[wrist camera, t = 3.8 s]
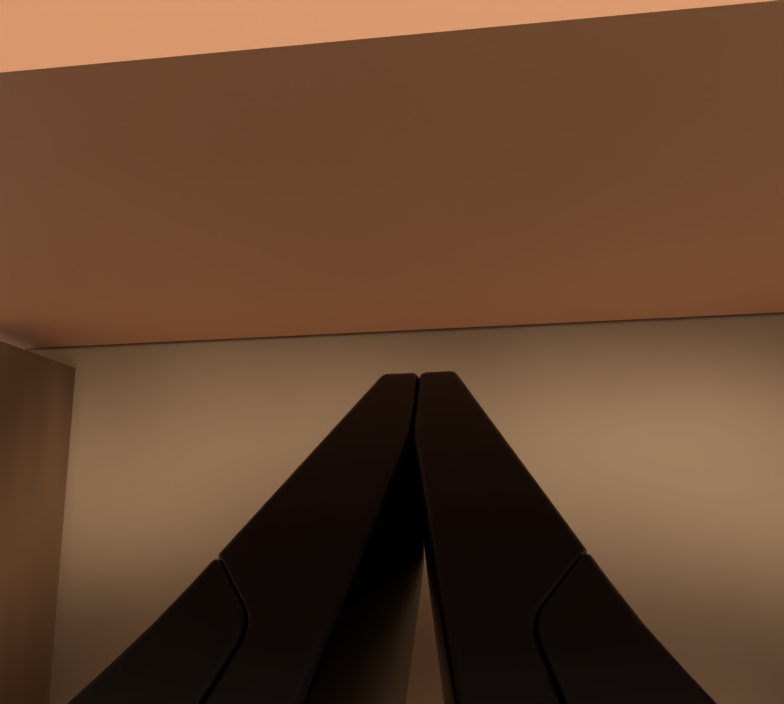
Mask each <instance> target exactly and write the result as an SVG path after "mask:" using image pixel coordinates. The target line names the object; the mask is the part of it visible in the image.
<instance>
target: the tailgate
mask: <svg viewBox="0 0 784 704" xmlns="http://www.w3.org/2000/svg"><path fill="white" fill-rule="evenodd" d="M779 312H784V0H0V341H2V342H5V343H8V344H10V345H13V346H16V347H19V348H21V349H25V348H46V347H67V346H88V345H109V344H130V343H151V342H172V341H193V340H213V339H234V338H255V337H276V336H297V335H318V334H339V333H360V332H381V331H402V330H423V329H444V328H465V327H486V326H507V325H528V324H549V323H570V322H590V321H611V320H632V319H653V318H674V317H695V316H716V315H737V314H758V313H779Z"/></svg>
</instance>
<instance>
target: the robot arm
mask: <svg viewBox="0 0 784 704" xmlns="http://www.w3.org/2000/svg"><path fill="white" fill-rule="evenodd" d="M424 554H425V558H426V567H427V577H428V585H429V593H430V600H431V608H432V616H433V623H434V631H435V639H436V646H437V654H438V662H439V669H440V677H441V685H442V692H443V700H444V704H717V703H716V702H715V701H714V699H713V698H712V697H711V696H710V695H709V694H708V693H707V692H706V691H705V690H704V689H703V688H702V687H701V686H700V685H699V684H698V683H697V682H696V680H695V679H694V678H693V677H692V676H691V675H690V674H689V673H688V672H687V671H686V670H685V669H684V668H683V666H682V665H681V664H680V663H679V662H678V661H677V660H676V659H675V658H674V656H673V655H672V654H671V653H670V652H669V651H668V650H667V649H666V648H665V646H664V645H663V644H662V643H661V642H660V641H659V640H658V639H657V638H656V636H655V635H654V634H653V633H652V632H651V631H650V630H649V629H648V628H647V627H646V625H645V624H644V623H643V622H642V620H641V619H640V618H639V617H638V615H637V614H636V613H635V612H634V610H633V609H632V608H631V607H630V605H629V604H628V603H627V602H626V600H625V599H624V598H623V597H622V595H621V594H620V593H619V591H618V590H617V589H616V588H615V586H614V585H613V584H612V583H611V581H610V580H609V579H608V577H607V576H606V574H605V573H604V572H603V570H602V569H601V568H600V566H599V565H598V564H597V562H596V561H595V560H594V558H593V557H592V556H591V555H590V554H587V550H586V548H585V547H584V545H583V544H582V543H581V541H580V540H579V538H578V537H577V536H576V534H575V533H574V532H573V530H572V529H571V528H570V526H569V525H568V524H567V522H566V521H565V519H564V518H563V517H562V515H561V514H560V513H559V511H558V510H557V509H556V507H555V506H554V505H553V503H552V502H551V501H550V499H549V498H548V496H547V495H546V494H545V492H544V491H543V490H542V488H541V487H540V486H539V484H538V483H537V482H536V480H535V479H534V477H533V476H532V475H531V473H530V472H529V471H528V469H527V468H526V467H525V465H524V464H523V463H522V461H521V460H520V459H519V457H518V456H517V454H516V453H515V452H514V450H513V449H512V448H511V446H510V445H509V444H508V442H507V441H506V440H505V438H504V437H503V436H502V434H501V433H500V431H499V430H498V429H497V427H496V426H495V425H494V423H493V422H492V421H491V419H490V418H489V417H488V415H487V414H486V412H485V411H484V410H483V408H482V407H481V406H480V404H479V403H478V402H477V400H476V399H475V398H474V396H473V395H472V394H471V392H470V391H469V389H468V388H467V387H466V385H465V384H464V383H463V381H462V380H461V379H460V377H459V376H458V375H457V374H456V373H455V372H453V371H441V372H425V373H423V374H421V375H420V377H418V375H417V374H415V373H395V374H384V375H383V376H381V377H380V378H379V379H378V380H377V381H376V383H375V384H374V385H373V386H372V387H371V388H370V389H369V390H368V391H367V392H366V393H365V395H364V396H363V397H362V398H361V399H360V400H359V401H358V402H357V403H356V404H355V405H354V407H353V408H352V409H351V410H350V411H349V412H348V413H347V414H346V415H345V416H344V418H343V419H342V420H341V421H340V422H339V423H338V424H337V425H336V426H335V427H334V428H333V430H332V431H331V432H330V433H329V434H328V435H327V436H326V437H325V438H324V439H323V440H322V442H321V443H320V444H319V445H318V446H317V447H316V448H315V449H314V450H313V451H312V452H311V454H310V455H309V456H308V457H307V458H306V459H305V460H304V461H303V462H302V463H301V465H300V466H299V467H298V468H297V469H296V470H295V471H294V472H293V473H292V474H291V475H290V477H289V478H288V479H287V480H286V481H285V482H284V483H283V484H282V485H281V486H280V487H279V489H278V490H277V491H276V492H275V493H274V494H273V495H272V496H271V497H270V498H269V500H268V501H267V502H266V503H265V504H264V505H263V506H262V507H261V508H260V509H259V510H258V512H257V513H256V514H255V515H254V516H253V517H252V518H251V519H250V520H249V521H248V522H247V524H246V525H245V526H244V527H243V528H242V529H241V530H240V531H239V532H238V533H237V534H236V536H235V537H234V538H233V539H232V540H231V541H230V542H229V543H228V544H227V545H226V547H225V548H224V549H223V550H222V551H221V552H220V553H219V555H218V559H219V560H218V559H214V560H212V561H211V562H210V564H209V565H208V566H207V567H206V568H205V569H204V570H203V571H202V572H201V573H200V574H199V576H198V577H197V578H196V579H195V580H194V581H193V582H192V583H191V584H190V585H189V586H188V587H187V588H186V590H185V591H184V592H183V593H182V594H181V595H180V596H179V597H178V598H177V599H176V600H175V601H174V602H173V603H172V604H171V605H170V606H169V607H168V608H167V609H166V610H165V611H164V612H163V613H162V614H161V615H160V616H159V618H158V619H157V620H156V621H155V622H154V623H153V624H152V625H151V626H150V627H149V628H148V629H147V630H145V631H144V632H143V633H142V634H141V635H140V636H139V637H138V638H137V639H136V640H135V641H134V642H133V643H132V644H131V645H130V646H128V647H127V648H126V649H125V650H124V651H123V652H122V653H121V654H120V655H119V656H118V657H117V658H116V659H115V660H114V661H113V662H112V663H110V664H109V665H108V666H107V667H106V668H105V669H104V670H103V671H102V672H101V673H100V674H99V675H97V676H96V677H95V678H94V679H93V680H92V681H91V682H90V683H89V684H88V685H86V686H85V687H84V688H83V689H82V690H81V691H80V692H79V693H78V694H76V695H75V696H74V697H73V698H72V699H71V700H70V701H69V702H68V703H66V704H406V697H407V690H408V683H409V675H410V668H411V660H412V653H413V645H414V638H415V630H416V623H417V616H418V608H419V601H420V593H421V586H422V578H423V568H424Z"/></svg>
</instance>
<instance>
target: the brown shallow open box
mask: <svg viewBox="0 0 784 704" xmlns="http://www.w3.org/2000/svg"><path fill="white" fill-rule="evenodd" d="M441 371H453V372H455V373H456V374H457V375H458V376H459V377H460V379H461V380H462V381H463V383H464V384H465V385H466V387H467V388H468V389H469V391H470V392H471V394H472V395H473V396H474V398H475V399H476V400H477V402H478V403H479V404H480V406H481V407H482V408H483V410H484V411H485V412H486V414H487V415H488V417H489V418H490V419H491V421H492V422H493V423H494V425H495V426H496V427H497V429H498V430H499V431H500V433H501V434H502V436H503V437H504V438H505V440H506V441H507V442H508V444H509V445H510V446H511V448H512V449H513V450H514V452H515V453H516V454H517V456H518V457H519V459H520V460H521V461H522V463H523V464H524V465H525V467H526V468H527V469H528V471H529V472H530V473H531V475H532V476H533V477H534V479H535V480H536V482H537V483H538V484H539V486H540V487H541V488H542V490H543V491H544V492H545V494H546V495H547V496H548V498H549V499H550V501H551V502H552V503H553V505H554V506H555V507H556V509H557V510H558V511H559V513H560V514H561V515H562V517H563V518H564V519H565V521H566V522H567V524H568V525H569V526H570V528H571V529H572V530H573V532H574V533H575V534H576V536H577V537H578V538H579V540H580V541H581V543H582V544H583V545H584V547H585V548H586V550H587V554H590V555H591V556H592V557H593V558H594V560H595V561H596V562H597V564H598V565H599V566H600V568H601V569H602V570H603V572H604V573H605V574H606V576H607V577H608V579H609V580H610V581H611V583H612V584H613V585H614V586H615V588H616V589H617V590H618V591H619V593H620V594H621V595H622V597H623V598H624V599H625V600H626V602H627V603H628V604H629V605H630V607H631V608H632V609H633V610H634V612H635V613H636V614H637V615H638V617H639V618H640V619H641V620H642V622H643V623H644V624H645V625H646V627H647V628H648V629H649V630H650V631H651V632H652V633H653V634H654V635H655V636H656V638H657V639H658V640H659V641H660V642H661V643H662V644H663V645H664V646H665V648H666V649H667V650H668V651H669V652H670V653H671V654H672V655H673V656H674V658H675V659H676V660H677V661H678V662H679V663H680V664H681V665H682V666H683V668H684V669H685V670H686V671H687V672H688V673H689V674H690V675H691V676H692V677H693V678H694V679H695V680H696V682H697V683H698V684H699V685H700V686H701V687H702V688H703V689H704V690H705V691H706V692H707V693H708V694H709V695H710V696H711V697H712V698H713V699H714V701H715V702H716V703H717V704H784V312H779V313H758V314H737V315H716V316H695V317H674V318H653V319H632V320H611V321H590V322H570V323H549V324H528V325H507V326H486V327H465V328H444V329H423V330H402V331H381V332H360V333H339V334H318V335H297V336H276V337H255V338H234V339H213V340H193V341H172V342H151V343H130V344H109V345H88V346H67V347H46V348H25V350H24V349H21V348H19V347H16V346H13V345H10V344H8V343H5V342H2V341H0V704H66V703H68V702H69V701H70V700H71V699H72V698H73V697H74V696H75V695H76V694H78V693H79V692H80V691H81V690H82V689H83V688H84V687H85V686H86V685H88V684H89V683H90V682H91V681H92V680H93V679H94V678H95V677H96V676H97V675H99V674H100V673H101V672H102V671H103V670H104V669H105V668H106V667H107V666H108V665H109V664H110V663H112V662H113V661H114V660H115V659H116V658H117V657H118V656H119V655H120V654H121V653H122V652H123V651H124V650H125V649H126V648H127V647H128V646H130V645H131V644H132V643H133V642H134V641H135V640H136V639H137V638H138V637H139V636H140V635H141V634H142V633H143V632H144V631H145V630H147V629H148V628H149V627H150V626H151V625H152V624H153V623H154V622H155V621H156V620H157V619H158V618H159V616H160V615H161V614H162V613H163V612H164V611H165V610H166V609H167V608H168V607H169V606H170V605H171V604H172V603H173V602H174V601H175V600H176V599H177V598H178V597H179V596H180V595H181V594H182V593H183V592H184V591H185V590H186V588H187V587H188V586H189V585H190V584H191V583H192V582H193V581H194V580H195V579H196V578H197V577H198V576H199V574H200V573H201V572H202V571H203V570H204V569H205V568H206V567H207V566H208V565H209V564H210V562H211V561H212V560H214V559H218V555H219V553H220V552H221V551H222V550H223V549H224V548H225V547H226V545H227V544H228V543H229V542H230V541H231V540H232V539H233V538H234V537H235V536H236V534H237V533H238V532H239V531H240V530H241V529H242V528H243V527H244V526H245V525H246V524H247V522H248V521H249V520H250V519H251V518H252V517H253V516H254V515H255V514H256V513H257V512H258V510H259V509H260V508H261V507H262V506H263V505H264V504H265V503H266V502H267V501H268V500H269V498H270V497H271V496H272V495H273V494H274V493H275V492H276V491H277V490H278V489H279V487H280V486H281V485H282V484H283V483H284V482H285V481H286V480H287V479H288V478H289V477H290V475H291V474H292V473H293V472H294V471H295V470H296V469H297V468H298V467H299V466H300V465H301V463H302V462H303V461H304V460H305V459H306V458H307V457H308V456H309V455H310V454H311V452H312V451H313V450H314V449H315V448H316V447H317V446H318V445H319V444H320V443H321V442H322V440H323V439H324V438H325V437H326V436H327V435H328V434H329V433H330V432H331V431H332V430H333V428H334V427H335V426H336V425H337V424H338V423H339V422H340V421H341V420H342V419H343V418H344V416H345V415H346V414H347V413H348V412H349V411H350V410H351V409H352V408H353V407H354V405H355V404H356V403H357V402H358V401H359V400H360V399H361V398H362V397H363V396H364V395H365V393H366V392H367V391H368V390H369V389H370V388H371V387H372V386H373V385H374V384H375V383H376V381H377V380H378V379H379V378H380V377H381V376H383V375H384V374H395V373H415V374H417V375H418V377H420V375H421V374H423V373H425V372H441ZM218 560H219V559H218ZM406 704H444V700H443V692H442V685H441V677H440V669H439V662H438V654H437V646H436V639H435V631H434V623H433V616H432V608H431V600H430V593H429V585H428V577H427V567H426V558H425V554H424V568H423V578H422V586H421V593H420V601H419V608H418V616H417V623H416V630H415V638H414V645H413V653H412V660H411V668H410V675H409V683H408V690H407V697H406Z"/></svg>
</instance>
